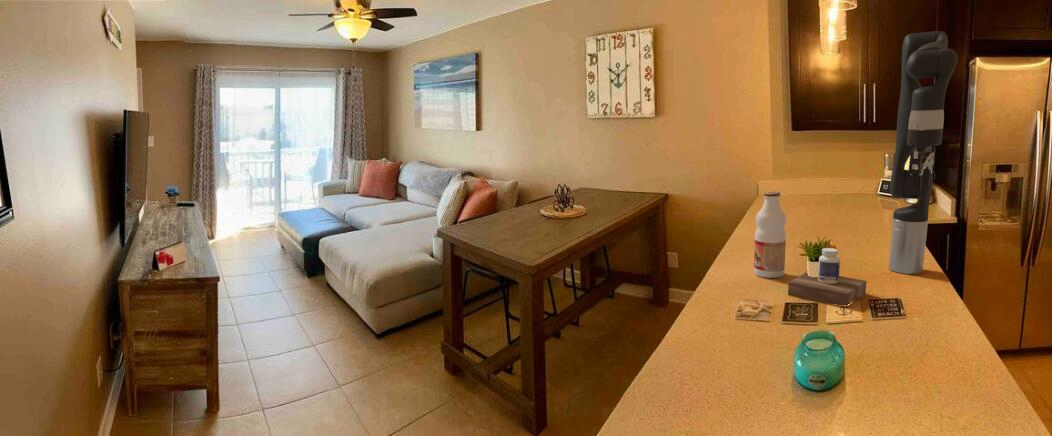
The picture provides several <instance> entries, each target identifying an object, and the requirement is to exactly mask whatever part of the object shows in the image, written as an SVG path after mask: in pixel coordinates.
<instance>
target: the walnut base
mask: <svg viewBox="0 0 1052 436" xmlns="http://www.w3.org/2000/svg"><path fill="white" fill-rule="evenodd" d="M807 272H808V271H806V272H804V273H802V274H801V275H798V276H797V277H796V278H794V279H792V280H790V281H788V285H787V286H788V289H787V295H788V296H791V297H794V298H795V297H796V298H801V299H805V300H809V301H815V302H820V303H824V304H828V305H832V304H837V305H846V306H847V305H848V304H850V303H851V302H854V301H855V302H857V301H858V300H859V299H860V298H862V297H863V296H865V295H866V293H867V280H864V279H858V278H853V277H849V276H847V277H846V276H842V275H839V281H838V283H835V284H827V283H822V282H820V281H819V280H818V277H810V276H808V274H807ZM855 302H854V303H855ZM837 305H836V306H837Z"/></svg>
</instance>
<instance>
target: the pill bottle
mask: <svg viewBox="0 0 1052 436" xmlns="http://www.w3.org/2000/svg"><path fill="white" fill-rule="evenodd" d="M838 252H839V251H838V249H837V248H833V247H831V248H830V247H824V248H822V249H821V254H822V255H820V256H819V258H818V271H817V272H818V280H819V281H820V282H822V283H827V284H835V283H838V281H839V276H840V268H841V267H840V266H841V260H840V259H841V258H840V257H838V255H839V254H838Z"/></svg>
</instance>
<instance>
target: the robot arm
mask: <svg viewBox="0 0 1052 436" xmlns="http://www.w3.org/2000/svg"><path fill="white" fill-rule="evenodd" d="M948 39H949V37H948V35H947V33H946V32H945V31H939V30H936V31H925V32H914V33H909V34H907V35H906V36H905V37H904V40H903V41H902V42H903V43H902V50H901V53H902V54H901V78H900V79H901V83H900V84H901V85H900V92H899V93H900V95H899V102H898V109H897V117H896V118H897V119H896V120H897V121H896V136H895V137H896V139H895V148H894V149H895V151H894V159H893V165H892V170H891V171H892V172H891V177H890V178H891V179H890V184H889V185H890V186H889V192H890V196H892V198H895V199H897V198H898V199H910V200H913V199H914V200H917V202H915V203H913V204H910V205H907V206H903V207H899V208H896V209H895V210H894V211H893V215H892V217H893V218H892V226H891V239H890V249H889V250H890V251H889V252H890V253H889V264H888V269H889V270H890V271H892V272H895V273H898V274H899V273H900V274H904V275H905V274H907V275H919V274H922V273H923V271H924V263H925V253H926V244H927V243H926V242H927V233H928V224H929V223H928V221H929V211H930V202H931V201H930V200H931V195H932V189H933V183H934V177H933V172H932V171H933V170H934V168H935V158H936V157H935V155H936V148H937V147H936V146H940V145H941V144H942V140H943V132H944V120H945V113H944V109H945V99H946V92H947V88H948V85H949V82H950V80H951V78H952V76H953V73H954V72H955V69H956V68H957V65H958V60H959V58H958V55H957V52H956V51H955V49H952V48H948V47H949V40H948ZM929 78H938V79H937V81H935V82H934V83H933V84H931V85H927V86H922V85H921V83H920V81H919V79H929ZM908 160H909V164H908V169H905V167H906V164H907V162H908Z"/></svg>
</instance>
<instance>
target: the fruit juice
mask: <svg viewBox="0 0 1052 436" xmlns="http://www.w3.org/2000/svg"><path fill="white" fill-rule="evenodd" d="M763 197H764V202H763V204H762V207H761V209H760V210H759V211H758V212H757V213H756V216H755V223H756V226H757V227H756V229H755V233H754V255H753V273H754V275H756V276H758V277H761V278H766V279H776V278H777V279H778V278H781V277H784V275H785V266H786V249H787V248H786V246H787V245H786V244H787V243H786V242H787V233H786V230H785V226H786V223H787V215H786V213H785V212H784V211H783V210H782V206H781V204H780V198H781V192H780V191H776V190H773V191H772V190H771V191H770V190H769V191H764V192H763Z"/></svg>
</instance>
